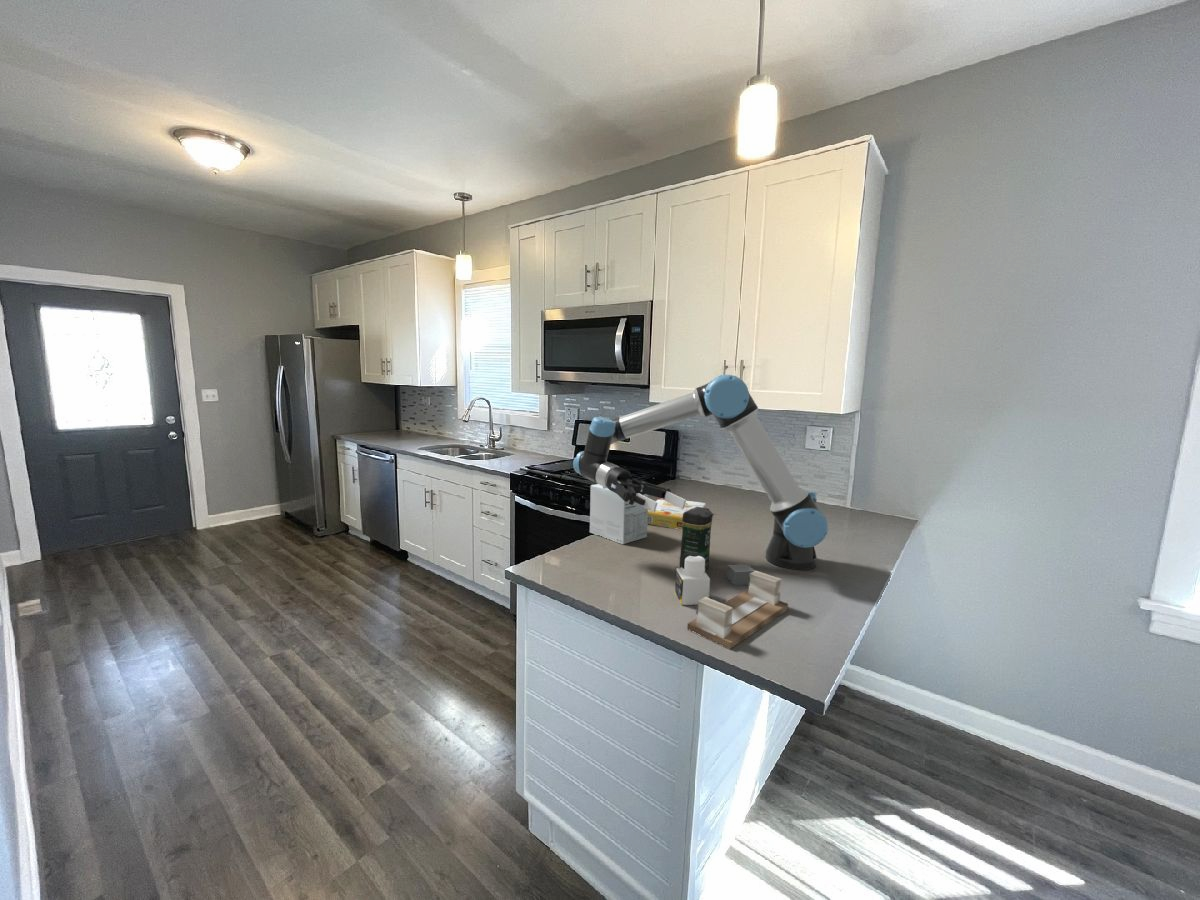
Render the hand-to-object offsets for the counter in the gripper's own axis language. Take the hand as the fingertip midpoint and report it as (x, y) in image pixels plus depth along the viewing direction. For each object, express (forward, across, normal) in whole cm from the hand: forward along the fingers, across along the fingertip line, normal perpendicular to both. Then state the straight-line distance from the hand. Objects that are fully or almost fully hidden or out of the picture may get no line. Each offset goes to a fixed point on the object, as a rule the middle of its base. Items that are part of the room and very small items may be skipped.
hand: (670, 506), depth 130 cm
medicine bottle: (+14, 0, -20) cm, 25 cm away
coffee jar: (+3, -18, -20) cm, 27 cm away
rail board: (+28, +1, -17) cm, 33 cm away
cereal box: (-32, -58, -23) cm, 70 cm away
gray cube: (+17, -20, -17) cm, 31 cm away
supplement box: (-33, -25, -27) cm, 49 cm away
